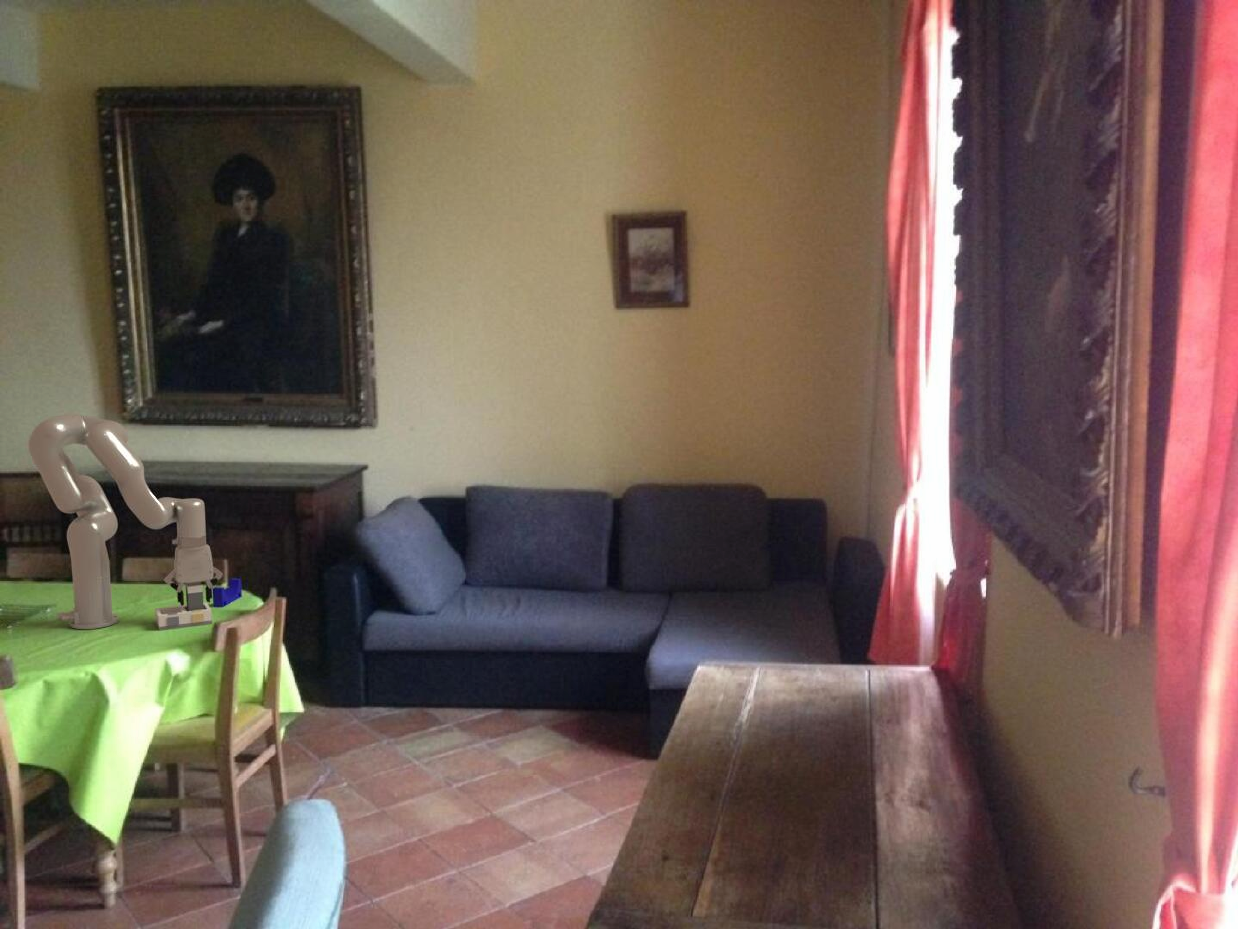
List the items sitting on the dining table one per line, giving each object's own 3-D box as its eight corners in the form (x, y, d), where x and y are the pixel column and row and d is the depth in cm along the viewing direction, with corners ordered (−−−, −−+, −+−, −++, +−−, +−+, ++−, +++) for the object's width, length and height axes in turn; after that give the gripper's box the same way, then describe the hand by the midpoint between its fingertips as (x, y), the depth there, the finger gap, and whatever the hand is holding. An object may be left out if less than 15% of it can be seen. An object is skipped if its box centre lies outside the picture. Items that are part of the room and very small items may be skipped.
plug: (189, 620, 304) (187, 586, 302) (187, 617, 307) (185, 583, 306) (204, 618, 306) (202, 585, 304) (201, 615, 309) (200, 581, 308)
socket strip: (159, 630, 297) (158, 616, 297) (155, 622, 305) (154, 607, 305) (212, 623, 304) (211, 609, 304) (207, 615, 312) (206, 601, 312)
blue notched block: (228, 596, 333) (227, 578, 332) (241, 597, 333) (240, 578, 332) (208, 607, 321) (207, 588, 321) (222, 608, 321) (221, 588, 320)
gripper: (160, 547, 296) (164, 610, 298) (226, 541, 304) (228, 602, 307) (157, 542, 302) (161, 603, 305) (221, 536, 310) (224, 596, 313)
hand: (195, 602), depth 306 cm, fingers open, 6 cm apart
